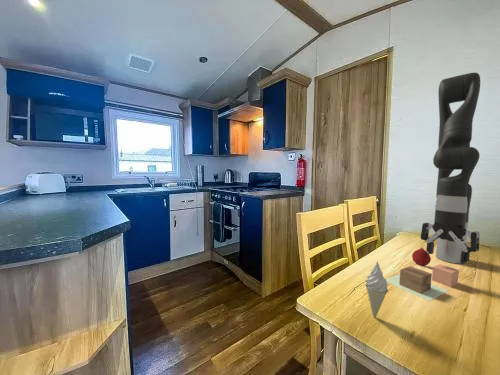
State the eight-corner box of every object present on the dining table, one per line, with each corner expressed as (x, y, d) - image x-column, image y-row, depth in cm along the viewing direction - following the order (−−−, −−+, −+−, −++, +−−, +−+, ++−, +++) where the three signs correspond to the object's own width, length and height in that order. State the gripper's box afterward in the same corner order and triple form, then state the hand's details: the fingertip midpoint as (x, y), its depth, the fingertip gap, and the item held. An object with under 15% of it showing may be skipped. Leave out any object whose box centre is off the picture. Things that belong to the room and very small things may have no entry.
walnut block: (409, 280, 73) (410, 266, 73) (430, 289, 68) (431, 273, 68) (399, 284, 71) (400, 269, 70) (420, 293, 65) (422, 277, 65)
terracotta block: (438, 280, 76) (439, 264, 76) (457, 287, 72) (458, 269, 71) (431, 283, 74) (432, 266, 73) (450, 291, 69) (452, 273, 69)
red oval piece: (433, 270, 83) (435, 250, 83) (416, 269, 85) (417, 249, 84) (424, 264, 89) (426, 245, 88) (408, 262, 90) (410, 244, 90)
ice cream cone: (359, 311, 59) (362, 257, 58) (377, 310, 59) (380, 257, 58) (371, 324, 54) (375, 265, 53) (390, 323, 54) (394, 265, 53)
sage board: (402, 275, 79) (402, 272, 79) (448, 294, 68) (448, 290, 67) (383, 283, 73) (383, 280, 73) (429, 305, 62) (429, 301, 62)
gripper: (486, 212, 66) (480, 264, 67) (430, 205, 79) (426, 249, 80) (476, 214, 63) (470, 268, 64) (419, 206, 75) (415, 252, 76)
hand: (446, 258), depth 72 cm, fingers open, 8 cm apart
